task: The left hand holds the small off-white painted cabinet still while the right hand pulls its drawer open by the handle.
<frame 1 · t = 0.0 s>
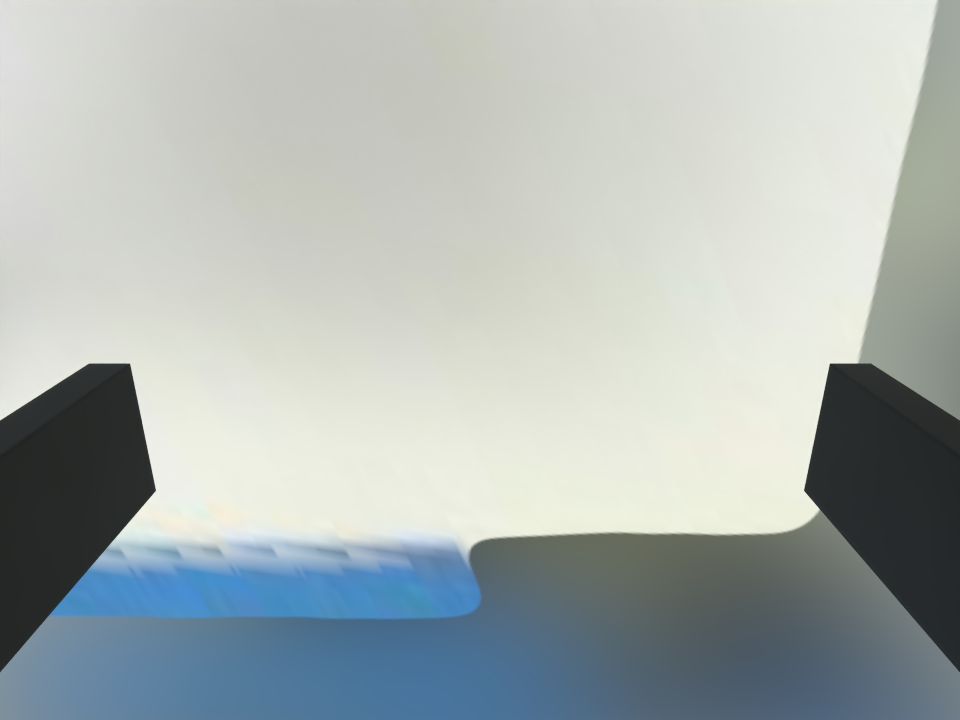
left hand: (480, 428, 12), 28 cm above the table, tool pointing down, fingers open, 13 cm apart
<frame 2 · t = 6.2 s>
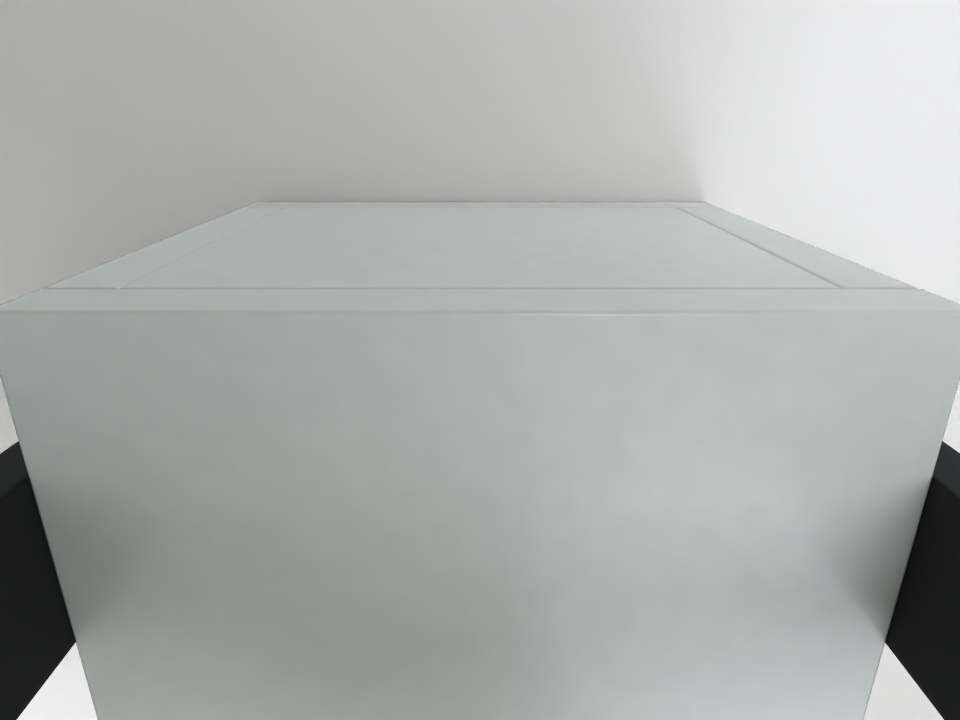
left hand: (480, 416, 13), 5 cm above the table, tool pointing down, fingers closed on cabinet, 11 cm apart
cabinet: (480, 555, 20), on the table, touching left hand
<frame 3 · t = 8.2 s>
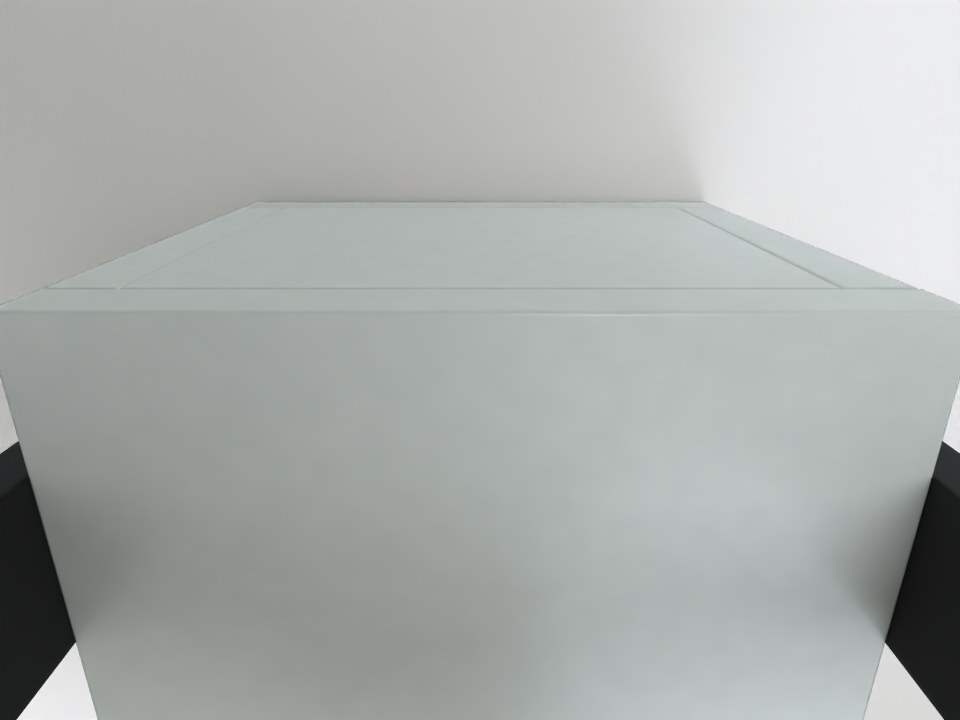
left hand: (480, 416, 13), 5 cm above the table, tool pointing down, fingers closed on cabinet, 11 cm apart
cabinet: (480, 555, 20), on the table, touching left hand
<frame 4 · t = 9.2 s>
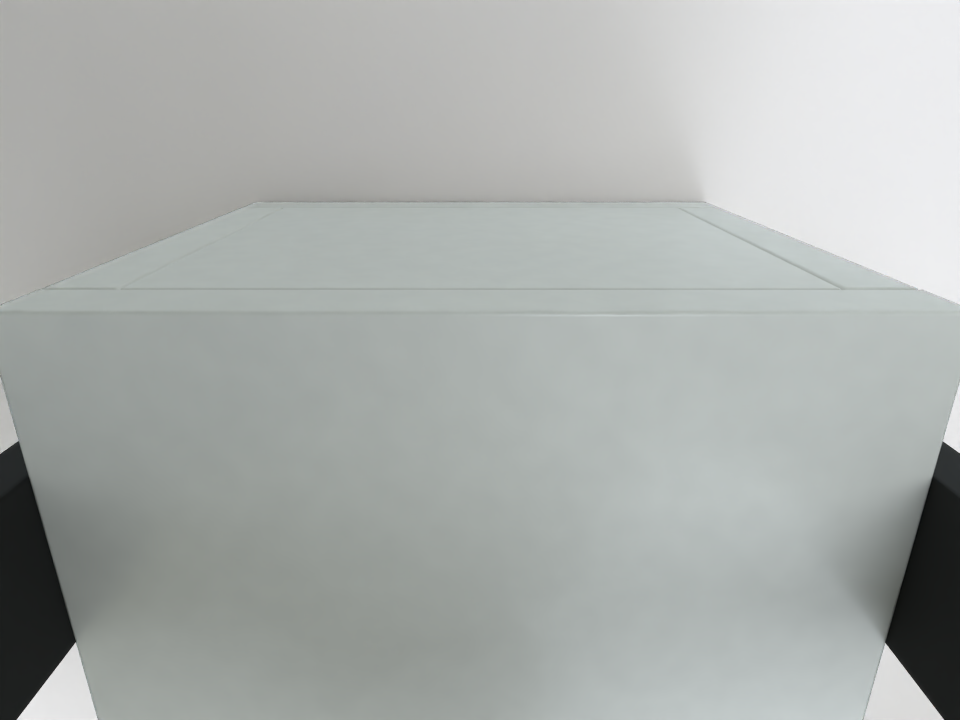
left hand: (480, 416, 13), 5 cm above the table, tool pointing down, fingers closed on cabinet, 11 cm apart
cabinet: (480, 555, 20), on the table, touching left hand
when the left hand's fingers open (5 cm above the table, at t = 10.8 s): cabinet stays where it is, on the table.
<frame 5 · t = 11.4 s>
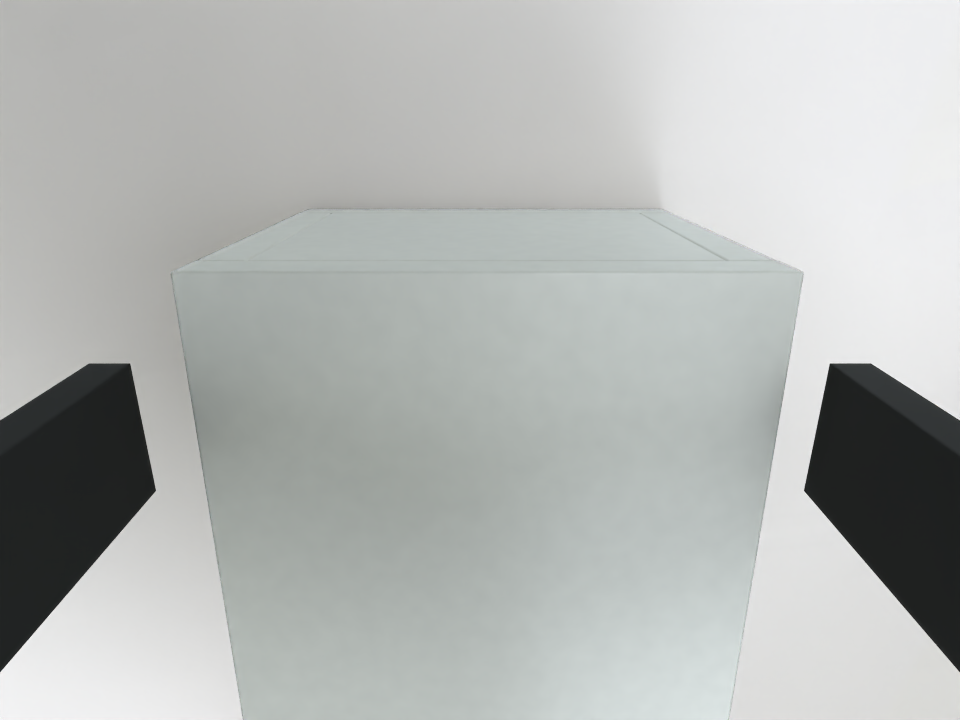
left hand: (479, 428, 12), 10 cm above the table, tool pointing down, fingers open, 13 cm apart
cabinet: (484, 502, 25), on the table
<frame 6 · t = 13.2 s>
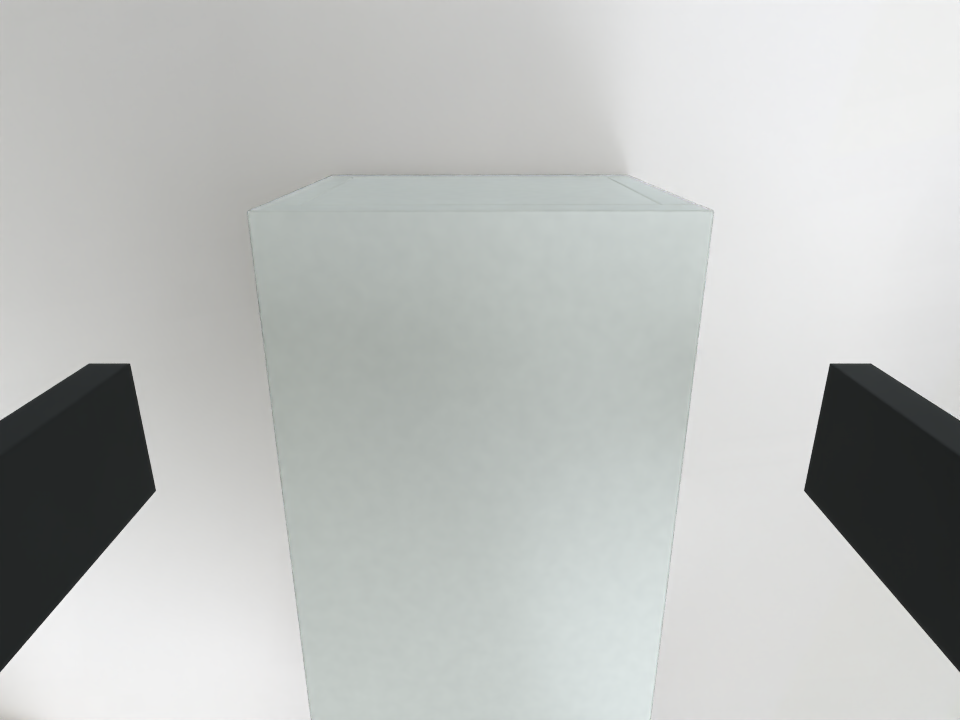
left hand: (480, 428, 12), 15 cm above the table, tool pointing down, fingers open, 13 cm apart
cabinet: (480, 428, 29), on the table
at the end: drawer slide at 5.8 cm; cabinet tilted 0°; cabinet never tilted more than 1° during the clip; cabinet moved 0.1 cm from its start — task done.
